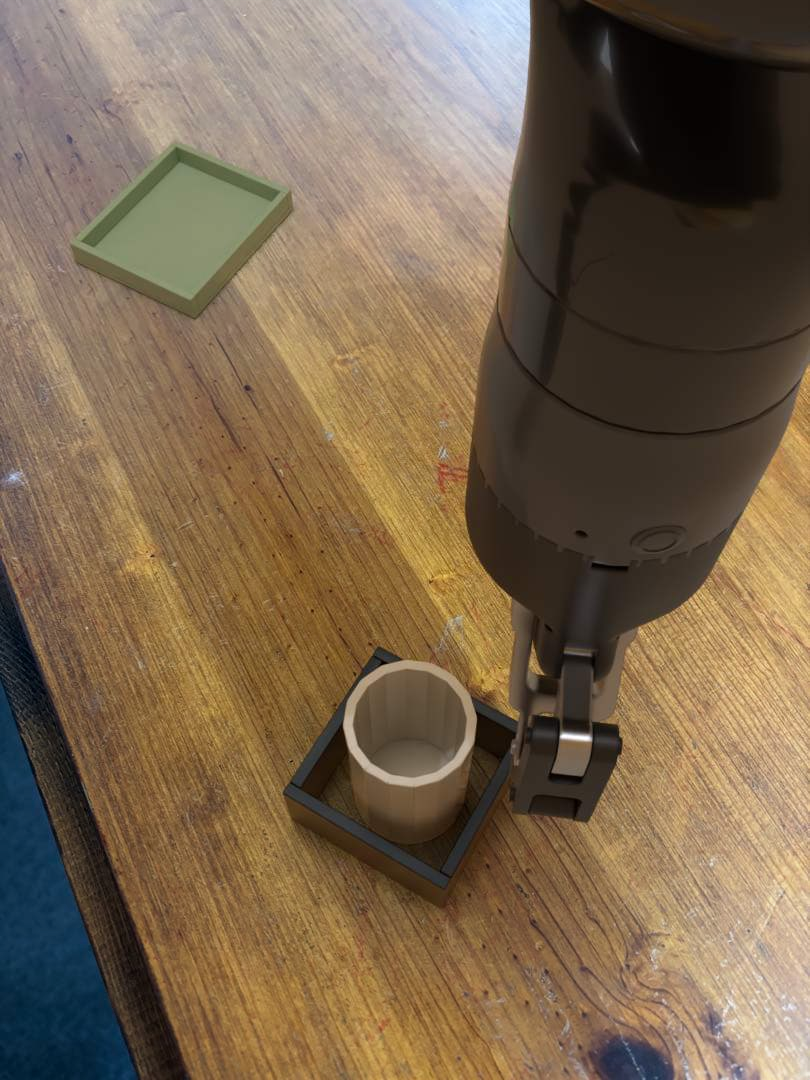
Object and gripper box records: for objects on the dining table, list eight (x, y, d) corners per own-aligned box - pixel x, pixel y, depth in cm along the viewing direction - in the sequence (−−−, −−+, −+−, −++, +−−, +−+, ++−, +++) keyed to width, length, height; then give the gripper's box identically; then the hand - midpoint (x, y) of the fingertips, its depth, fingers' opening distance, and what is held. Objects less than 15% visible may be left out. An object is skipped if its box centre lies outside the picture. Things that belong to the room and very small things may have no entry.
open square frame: (441, 909, 58) (444, 890, 53) (290, 818, 60) (281, 792, 56) (524, 758, 62) (533, 729, 57) (380, 679, 64) (378, 645, 60)
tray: (195, 319, 78) (190, 300, 77) (76, 262, 81) (69, 243, 80) (293, 209, 84) (291, 189, 82) (179, 159, 87) (174, 139, 85)
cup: (430, 866, 59) (434, 811, 49) (332, 807, 60) (318, 744, 51) (484, 768, 62) (499, 699, 52) (390, 715, 63) (387, 638, 54)
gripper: (495, 219, 31) (465, 508, 45) (446, 664, 24) (428, 843, 38) (753, 242, 31) (642, 527, 45) (780, 702, 24) (638, 868, 38)
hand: (544, 672), depth 42 cm, fingers open, 8 cm apart
